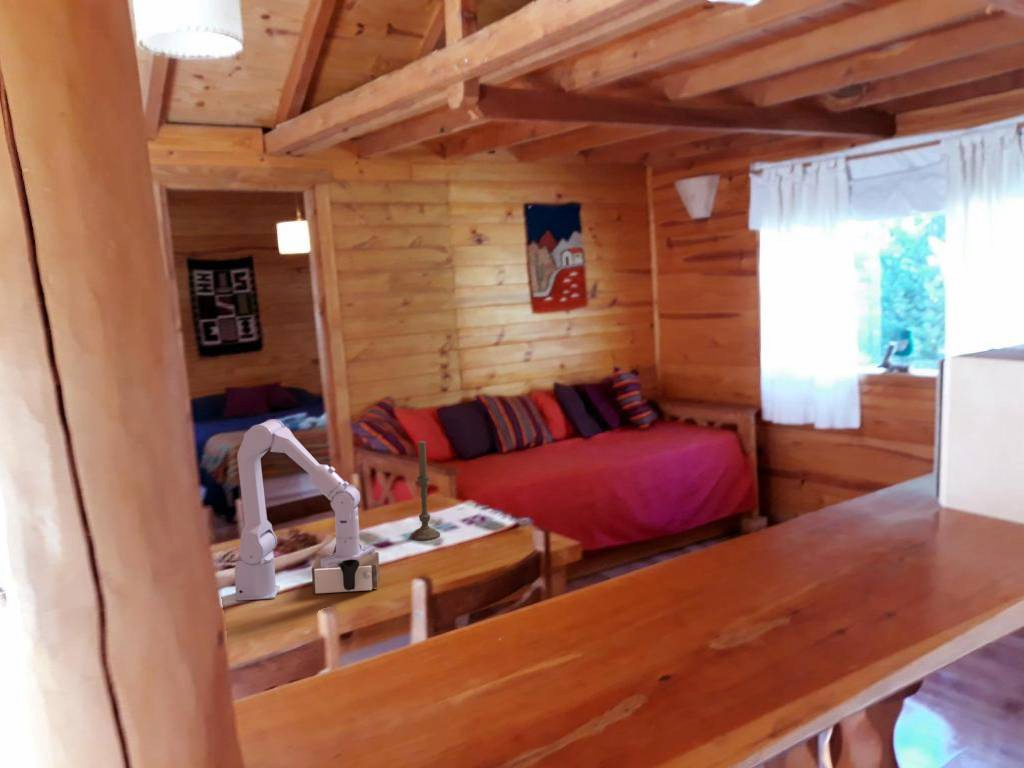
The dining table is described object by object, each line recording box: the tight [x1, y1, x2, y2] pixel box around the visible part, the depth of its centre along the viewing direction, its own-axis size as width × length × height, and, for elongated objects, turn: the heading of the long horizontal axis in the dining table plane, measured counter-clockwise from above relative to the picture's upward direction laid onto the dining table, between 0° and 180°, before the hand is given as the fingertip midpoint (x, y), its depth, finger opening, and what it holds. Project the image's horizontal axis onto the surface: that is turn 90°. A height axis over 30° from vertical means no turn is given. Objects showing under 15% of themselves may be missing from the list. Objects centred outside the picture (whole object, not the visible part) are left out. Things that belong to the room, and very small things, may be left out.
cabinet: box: [311, 551, 381, 594], centre depth 216 cm, size 16×10×6 cm, turn 96°
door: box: [314, 566, 373, 594], centre depth 210 cm, size 14×2×6 cm, turn 96°
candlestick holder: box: [410, 440, 441, 542], centre depth 255 cm, size 9×9×30 cm
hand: (349, 588), depth 208 cm, fingers closed, pressing on door
